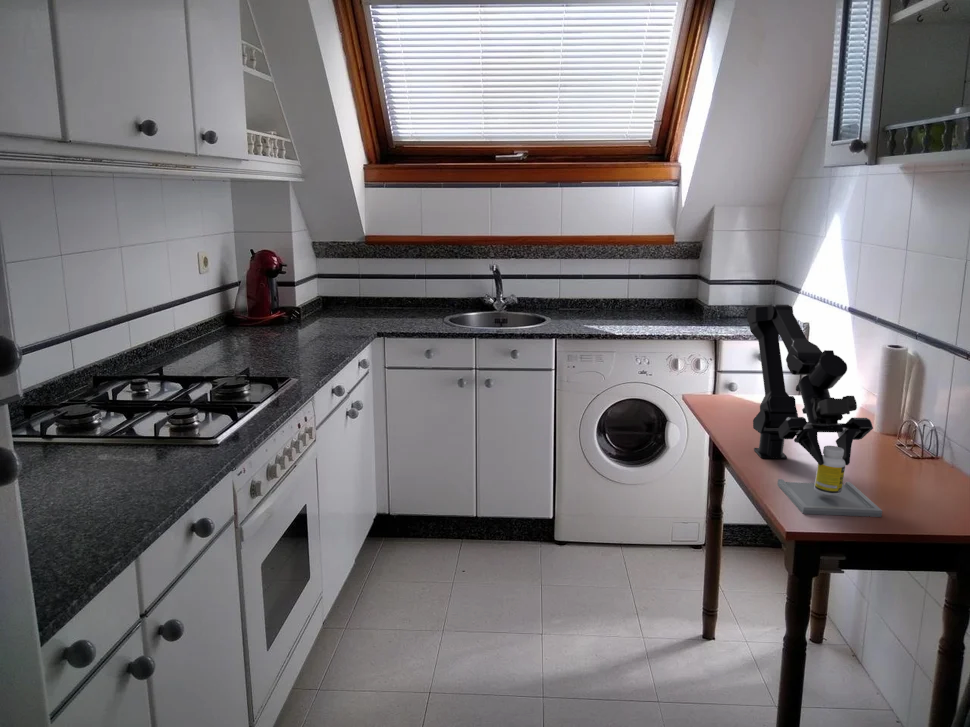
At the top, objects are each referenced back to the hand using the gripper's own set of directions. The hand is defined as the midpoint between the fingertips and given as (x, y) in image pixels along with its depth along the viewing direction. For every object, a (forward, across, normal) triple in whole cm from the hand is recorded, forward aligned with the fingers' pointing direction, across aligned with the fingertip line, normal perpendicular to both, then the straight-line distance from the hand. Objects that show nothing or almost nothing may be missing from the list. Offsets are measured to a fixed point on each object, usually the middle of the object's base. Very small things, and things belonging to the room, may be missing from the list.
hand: (834, 464), depth 168 cm
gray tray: (+5, 0, +7) cm, 9 cm away
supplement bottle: (+4, 0, +6) cm, 7 cm away
